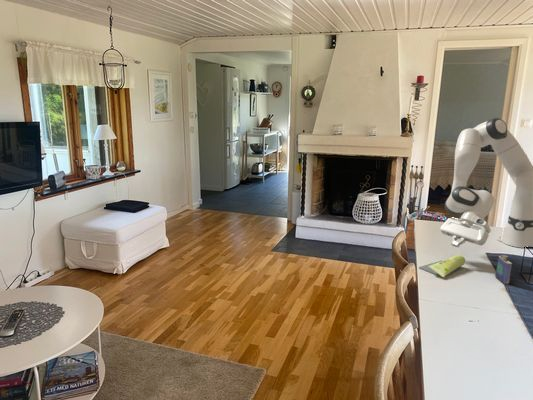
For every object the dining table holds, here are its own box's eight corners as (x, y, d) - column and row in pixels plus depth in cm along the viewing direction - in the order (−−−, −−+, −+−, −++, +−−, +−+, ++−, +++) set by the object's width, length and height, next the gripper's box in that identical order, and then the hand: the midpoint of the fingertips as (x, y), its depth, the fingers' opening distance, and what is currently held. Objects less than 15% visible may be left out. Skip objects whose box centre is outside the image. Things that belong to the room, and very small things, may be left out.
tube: (465, 253, 176) (439, 265, 165) (468, 265, 175) (443, 277, 164) (453, 254, 180) (428, 266, 169) (456, 265, 180) (431, 277, 169)
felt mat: (441, 261, 184) (441, 260, 184) (461, 268, 176) (461, 267, 176) (418, 268, 176) (418, 267, 176) (438, 276, 168) (438, 275, 168)
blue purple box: (510, 284, 161) (514, 259, 158) (502, 284, 161) (506, 259, 159) (500, 275, 170) (504, 251, 167) (493, 274, 170) (496, 251, 168)
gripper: (447, 212, 188) (431, 235, 186) (490, 223, 171) (473, 248, 169) (451, 220, 192) (436, 242, 189) (494, 231, 175) (478, 256, 172)
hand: (454, 245), depth 179 cm, fingers closed
